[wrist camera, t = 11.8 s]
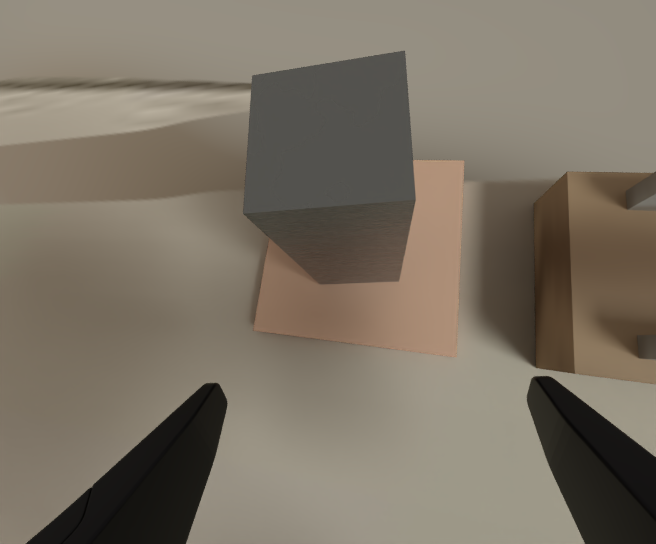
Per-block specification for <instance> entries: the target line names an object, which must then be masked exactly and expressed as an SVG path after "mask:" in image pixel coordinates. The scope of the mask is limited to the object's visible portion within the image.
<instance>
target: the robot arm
mask: <svg viewBox="0 0 656 544" xmlns="http://www.w3.org/2000/svg"><path fill="white" fill-rule="evenodd" d="M527 403H528V407H529V410H530V412H531V415H532V418H533V421H534V424H535V427H536V430H537V433H538V436H539V439H540V441H541V444H542V447H543V450H544V453H545V456H546V459H547V461H548V464H549V466H550V469H551V471H552V473H553V476H554V478H555V480H556V482H557V484H558V486H559V489H560V491H561V493H562V495H563V497H564V499H565V501H566V504H567V506H568V508H569V510H570V512H571V514H572V517H573V519H574V521H575V523H576V525H577V527H578V530H579V532H580V534H581V536H582V538H583V540H584V542H585V544H656V457H655V456H653V455H652V454H651V453H649V452H648V451H647V450H646V449H644V448H643V447H642V446H640V445H639V444H638V443H636V442H635V441H634V440H633V439H631V438H630V437H629V436H627V435H626V434H625V433H624V432H622V431H621V430H620V429H618V428H617V427H616V426H614V425H613V424H612V423H611V422H609V421H608V420H607V419H605V418H604V417H603V416H601V415H600V414H599V413H598V412H596V411H595V410H594V409H592V408H591V407H590V406H589V405H587V404H586V403H585V402H583V401H582V400H581V399H579V398H578V397H577V396H576V395H574V394H573V393H572V392H570V391H569V390H568V389H566V388H565V387H564V386H563V385H561V384H560V383H559V382H557V381H556V380H555V379H553V378H552V377H549V376H535V377H533V378H532V379H531V382H530V386H529V390H528V394H527ZM226 410H227V399H226V397H225V395H224V393H223V390H222V388H221V386H220V385H219V384H218V383H206V384H204V385H203V386H202V387H200V388H199V389H198V390H197V391H196V392H195V393H194V394H193V395H192V396H191V397H189V398H188V399H187V400H186V401H185V402H184V403H183V404H182V405H181V406H180V407H178V408H177V409H176V410H175V411H174V412H173V413H172V414H171V415H170V416H169V417H167V418H166V419H165V420H164V421H163V422H162V423H161V424H160V425H159V426H158V427H156V428H155V429H154V430H153V431H152V432H151V433H150V434H149V435H148V436H147V437H145V438H144V439H143V440H142V441H141V442H140V443H139V444H138V445H137V446H135V447H134V448H133V449H132V450H131V451H130V452H129V453H128V454H127V455H126V456H124V457H123V458H122V459H121V460H120V461H119V462H118V463H117V464H116V465H115V466H113V467H112V468H111V469H110V470H109V471H108V472H107V473H106V474H105V475H104V476H102V477H101V478H100V479H99V480H98V481H97V482H96V483H95V484H94V485H93V487H91V488H89V489H88V490H87V491H86V492H85V493H84V494H83V495H81V496H80V497H79V498H78V499H77V500H76V501H75V502H74V503H73V504H71V505H70V506H69V507H68V508H67V509H66V510H65V511H63V512H62V513H61V514H60V515H59V516H58V517H57V518H56V519H54V520H53V521H52V522H51V523H50V524H48V525H47V526H46V527H45V528H44V529H43V530H41V531H40V532H39V533H38V534H37V535H35V536H34V537H33V538H32V539H31V540H29V541H28V542H27V543H26V544H186V541H187V539H188V536H189V533H190V530H191V527H192V524H193V521H194V518H195V515H196V512H197V509H198V506H199V503H200V500H201V497H202V494H203V492H204V489H205V486H206V483H207V480H208V477H209V474H210V471H211V468H212V465H213V462H214V459H215V455H216V451H217V448H218V443H219V439H220V435H221V431H222V426H223V422H224V418H225V414H226Z"/></svg>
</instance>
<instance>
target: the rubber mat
mask: <svg viewBox="0 0 656 544" xmlns="http://www.w3.org/2000/svg"><path fill="white" fill-rule="evenodd" d="M413 167H414V181H415V194H416V202H415V206H414V211H413V216H412V221H411V226H410V231H409V236H408V240H407V245H406V250H405V255H404V260H403V265H402V270H401V274H400V279H399V282H375V283H348V284H321V285H320V284H319V283H318V282H317V281H316V280H315V279H313V278H312V277H311V276H310V275H309V274H308V273H307V272H306V271H305V270H304V269H303V268H302V267H300V266H299V265H298V264H297V263H296V262H295V261H294V260H293V259H292V258H291V257H290V256H289V255H287V254H286V253H285V252H284V251H283V250H282V249H281V248H280V247H279V246H278V245H277V244H275V243H274V242H273V241H272V240H271V239H270V238H269V242H268V247H267V253H266V259H265V265H264V270H263V276H262V282H261V288H260V293H259V299H258V305H257V310H256V316H255V322H254V328H253V331H260V332H268V333H275V334H283V335H291V336H298V337H306V338H313V339H321V340H328V341H336V342H344V343H351V344H359V345H366V346H374V347H381V348H389V349H397V350H404V351H412V352H419V353H427V354H434V355H442V356H450V357H457V332H458V307H459V281H460V256H461V231H462V205H463V180H464V161H455V160H453V161H452V160H413Z"/></svg>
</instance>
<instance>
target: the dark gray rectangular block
mask: <svg viewBox="0 0 656 544" xmlns="http://www.w3.org/2000/svg"><path fill="white" fill-rule="evenodd" d="M410 127H411V126H410V113H409V99H408V85H407V73H406V58H405V51H400V52H394V53H388V54H381V55H375V56H369V57H363V58H357V59H351V60H345V61H339V62H333V63H326V64H320V65H314V66H308V67H302V68H297V69H290V70H284V71H277V72H271V73H265V74H259V75H253V76H252V88H251V103H250V118H249V134H248V150H247V163H246V164H247V165H246V179H245V194H244V209H243V214H244V215H245V216H246V217H247V218H248V219H249V220H251V221H252V222H253V223H254V224H255V225H256V226H257V227H258V228H259V229H260V230H261V231H262V232H264V233H265V234H266V235H267V236H268V237H269V238H270V239H271V240H272V241H273V242H274V243H275V244H277V245H278V246H279V247H280V248H281V249H282V250H283V251H284V252H285V253H286V254H287V255H289V256H290V257H291V258H292V259H293V260H294V261H295V262H296V263H297V264H298V265H299V266H300V267H302V268H303V269H304V270H305V271H306V272H307V273H308V274H309V275H310V276H311V277H312V278H313V279H315V280H316V281H317V282H318V283H319V284H320V285H321V284H348V283H375V282H399V279H400V274H401V270H402V265H403V260H404V255H405V250H406V245H407V240H408V236H409V231H410V226H411V221H412V216H413V211H414V206H415V202H416V194H415V181H414V167H413V153H412V140H411V128H410Z"/></svg>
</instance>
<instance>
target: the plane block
mask: <svg viewBox="0 0 656 544" xmlns="http://www.w3.org/2000/svg"><path fill="white" fill-rule="evenodd" d="M534 253H535V336H536V368H541V369H547V370H554V371H561V372H567V373H574V374H582V375H589V376H597V377H604V378H612V379H619V380H627V381H634V382H642V383H650V384H656V172H654V173H618V172H566V174H564V175H563V176H562V177H561V178H560V179H559V180H558V181H557V182H556V183H555V184H554V185H553V186H552V187H551V188H550V189H549V190H548V191H547V192H546V193H545V194H543V195H542V196H541V197H540V198H539V199H538V200H537V201H536V202H535V203H534Z"/></svg>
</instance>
